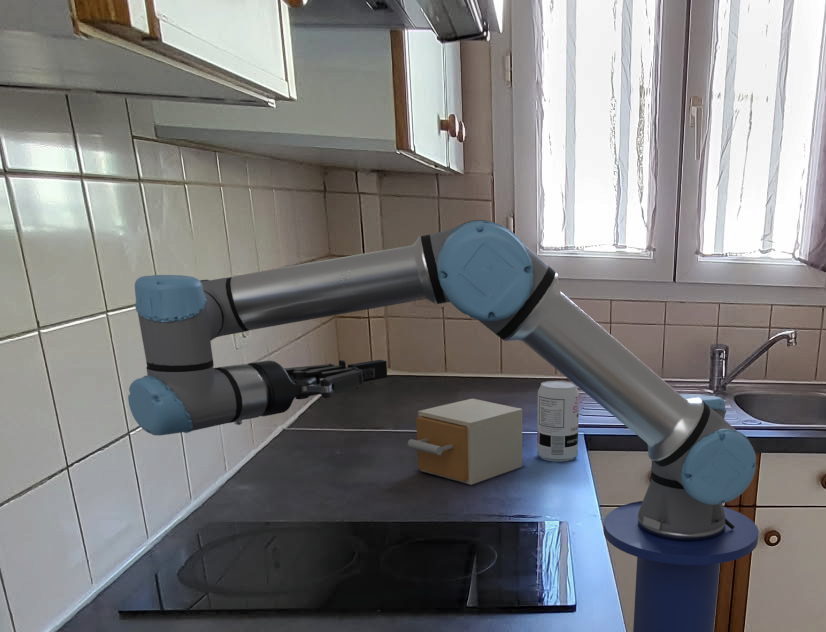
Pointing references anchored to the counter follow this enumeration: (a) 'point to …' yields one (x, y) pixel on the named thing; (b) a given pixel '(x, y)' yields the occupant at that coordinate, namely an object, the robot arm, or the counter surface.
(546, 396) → the supplement can
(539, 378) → the counter surface
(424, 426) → the drawer
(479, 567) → the counter surface
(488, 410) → the cabinet
